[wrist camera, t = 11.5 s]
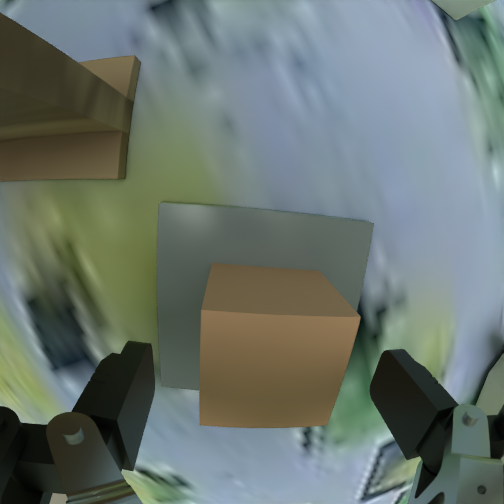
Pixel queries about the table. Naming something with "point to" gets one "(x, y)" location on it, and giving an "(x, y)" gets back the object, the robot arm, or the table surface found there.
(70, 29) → the table surface
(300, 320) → the letter cube
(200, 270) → the slate pad
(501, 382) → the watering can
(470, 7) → the milk
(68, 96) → the walnut screen
